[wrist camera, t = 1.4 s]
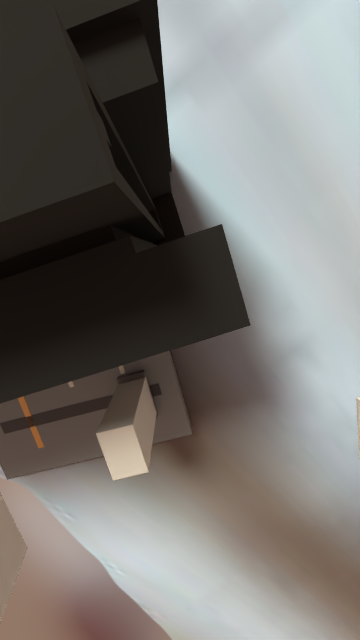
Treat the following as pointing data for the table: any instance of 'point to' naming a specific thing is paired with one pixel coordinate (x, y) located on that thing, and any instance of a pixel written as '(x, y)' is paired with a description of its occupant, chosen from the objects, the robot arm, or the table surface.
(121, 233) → the game console
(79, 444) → the fader panel
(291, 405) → the table surface
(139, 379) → the fader
